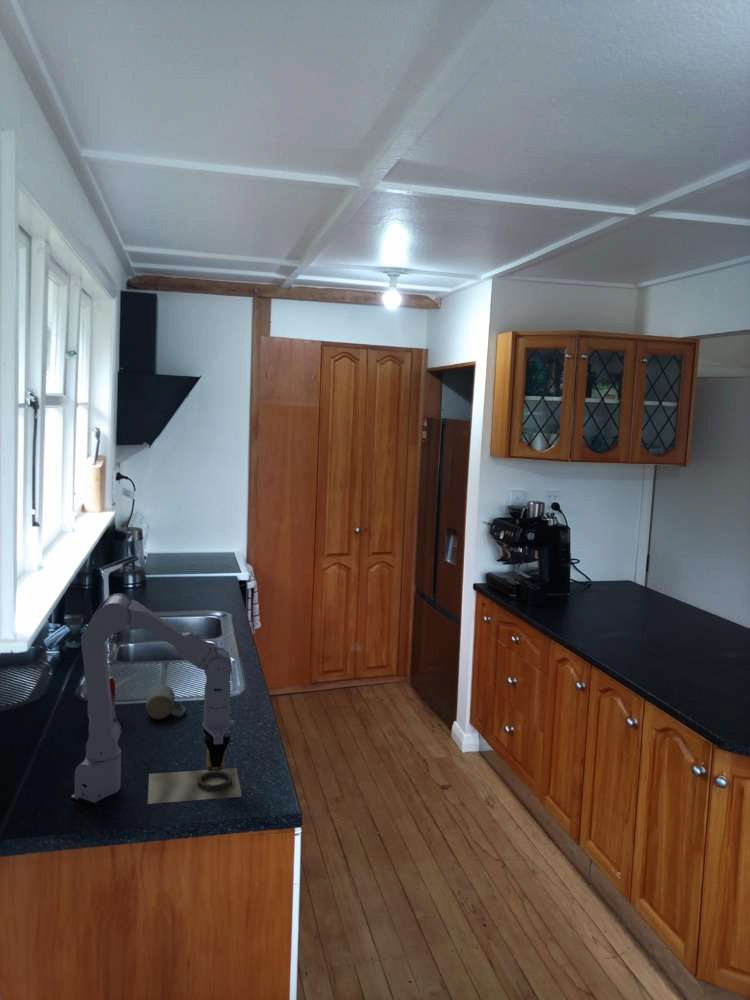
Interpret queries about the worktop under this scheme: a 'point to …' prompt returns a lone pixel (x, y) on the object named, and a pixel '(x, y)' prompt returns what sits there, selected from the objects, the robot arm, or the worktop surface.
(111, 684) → the soda can
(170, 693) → the ceramic mug
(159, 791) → the jig board
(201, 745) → the worktop surface
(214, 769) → the brass fitting
